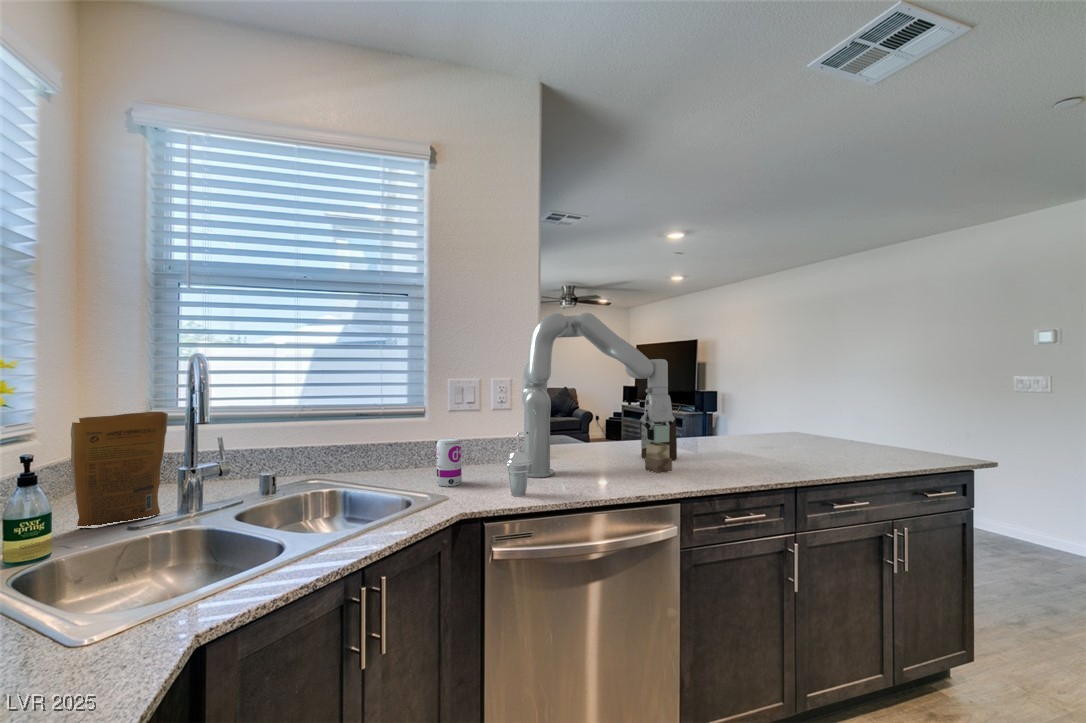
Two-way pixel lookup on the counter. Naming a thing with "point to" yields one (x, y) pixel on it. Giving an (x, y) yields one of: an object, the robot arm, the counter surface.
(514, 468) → the cup with straw
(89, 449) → the pancake mix bag
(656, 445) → the oak upper block
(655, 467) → the walnut base block
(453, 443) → the supplement can
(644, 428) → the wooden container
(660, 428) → the sage cube
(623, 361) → the robot arm
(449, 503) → the counter surface
